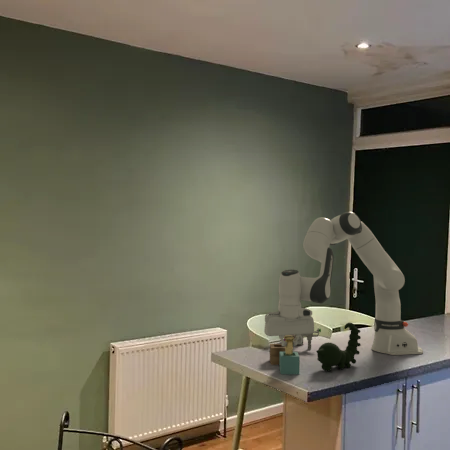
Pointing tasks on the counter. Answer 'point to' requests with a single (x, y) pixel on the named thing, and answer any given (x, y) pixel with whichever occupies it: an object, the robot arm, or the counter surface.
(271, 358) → the pin mount
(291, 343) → the lock pin
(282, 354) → the socket block
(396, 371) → the counter surface
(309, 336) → the mechanical component
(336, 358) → the toy figurine
